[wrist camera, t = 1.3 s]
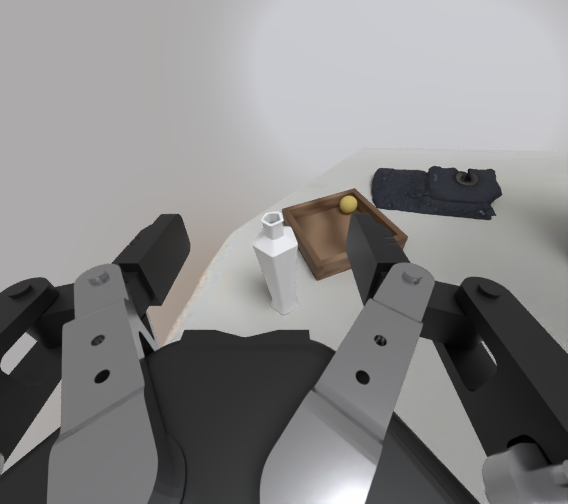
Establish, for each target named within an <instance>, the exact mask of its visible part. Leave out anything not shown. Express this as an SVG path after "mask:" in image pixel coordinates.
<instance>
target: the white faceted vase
mask: <svg viewBox="0 0 568 504" xmlns="http://www.w3.org/2000/svg"><path fill="white" fill-rule="evenodd" d="M283 221H284V219H283V216H282V214H281V212H267V213H265V215H264V216H263V217H262V219H261V222H262V223H263V227H264V228H263V229H262V231H261V232H260V234H259V235H258V236H257V238H256V239H255V241H254V242H253V247H254V250H255V253H256V256H257V258H258V261H259V264H260V267H261V269H262V272H263V275H264V278H265V280H266V283H267V286H268V289H269V291H270V294H271V297H272V302H271V307H273V308H274V309H275V310H277V311H278V312H279V313H281V314H282V315H286V314H288V313H289V312H291V311H293V310H294V309H296V308H298V306H299V305H298V302H297V299H296V274H297V251H298V243H297V240H296V238H295V235H294V233H293V230H292V228H291V227H289V226H283Z"/></svg>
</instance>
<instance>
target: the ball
mask: <svg viewBox="0 0 568 504" xmlns="http://www.w3.org/2000/svg"><path fill="white" fill-rule="evenodd" d="M356 208H357V200H356V199H355V198H354V197H353V196H345V197H344V198H342V199H341V201H340V209H341V210H342V211H343V212H344V213H352V212H353V211H355V210H356Z"/></svg>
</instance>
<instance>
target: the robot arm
mask: <svg viewBox="0 0 568 504" xmlns="http://www.w3.org/2000/svg"><path fill="white" fill-rule="evenodd" d="M189 252H190V241H189V238H188V235H187V232H186V229H185V225H184V223H183V219H182V217H181V216H180V215H179V214H161V215H160V216H159V217H158V218H157V219H156V221H155V222H154V223H153V224H152V225H149V226H148V227H146V228H145V229H143V230H141V231H140V232H139V234H138V235H137V236H136V237H135V239H133V240H132V241H131V242H130V245H128V246H127V247H126V248H125V249H124V250H123V251H122V252H121V253H120V254H119V256H118V257H117V258H116V259H115V260H114V261H113V262H112V263H111V264H104V265H100V266H96V267H94V268H91V269H89V270H87V271H85V272H84V273H83V274H81V275H80V276H79V277H78V278H77V279H76V281H75V283H72V284H68V285H63V286H58V287H54V286H53V285H52V284H51V283H50V282H49V281H48V280H47V279H46V278H41V277H38V278H31V279H27V280H24V281H21V282H19V283H16V284H14V285H12V286H10V287H8V288H7V289H5V290H4V291H2V292H1V293H0V363H1V359H2V357H3V356H4V354H5V353H6V352H7V351H8V350H9V349H10V348H11V347H12V346H13V345H14V344H15V342H16V341H17V340H18V339H19V338H20V337H21V336H22V335H23V334H24V333H25V332H27V333H28V334H29V335H30V336H32V337H33V338H34V339H35V340H36V341H37V342H36V344H35V345H34V346H33V347H32V348H31V350H30V351H29V352H28V353H27V354H26V355H25V356H24V358H23V359H22V360H21V361H20V363H19V364H18V365H17V366H16V367H15V368H14V370H13V371H12V372H11V373H10V374H9V375H7V374H6V373H4V372H3V371H2V370H1V368H0V504H480V503H479V502H478V501H477V499H476V498H475V497H474V496H473V495H472V494H471V493H470V492H469V491H468V490H467V489H466V488H465V487H464V486H463V484H462V483H461V482H460V481H459V480H458V479H457V478H456V477H455V476H454V475H453V474H452V473H451V472H450V471H449V470H448V468H447V467H446V466H445V465H444V464H443V463H442V462H441V461H440V460H439V459H438V458H437V457H436V456H435V455H434V454H433V453H432V451H431V450H430V449H429V448H428V447H427V446H426V445H425V444H424V443H423V442H422V441H421V440H420V439H419V438H418V437H417V435H416V434H415V433H414V432H413V431H412V430H411V429H410V428H409V427H408V426H407V425H406V424H405V423H404V422H403V421H402V419H401V418H400V417H399V416H398V415H397V414H396V413H395V412H394V411H393V410H394V407H395V404H396V402H397V399H398V396H399V393H400V390H401V387H402V384H403V381H404V379H405V376H406V373H407V370H408V367H409V364H410V361H411V358H412V356H413V353H414V350H415V347H416V344H417V341H418V338H419V337H423V338H426V339H430V340H432V341H433V343H434V345H435V347H436V349H437V351H438V353H439V356H440V358H441V360H442V362H443V364H444V366H445V368H446V370H447V373H448V375H449V377H450V379H451V381H452V383H453V385H454V387H455V390H456V392H457V394H458V396H459V398H460V400H461V402H462V404H463V406H464V409H465V411H466V413H467V415H468V417H469V419H470V421H471V423H472V426H473V428H474V430H475V432H476V434H477V436H478V438H479V440H480V442H481V445H482V447H483V449H484V451H485V453H486V455H487V457H488V458H487V459H486V460H485V461H484V464H483V468H482V476H483V481H484V485H485V494H486V497H487V499H488V501H489V503H490V504H568V354H567V353H566V352H565V351H564V350H563V348H562V347H561V346H560V345H559V344H558V343H557V342H556V341H555V340H554V339H553V338H552V337H551V335H550V334H549V333H548V332H547V331H546V330H545V329H544V328H543V327H542V326H541V325H540V324H539V323H538V321H537V320H536V319H535V318H534V317H533V316H532V315H531V314H530V313H529V312H528V311H527V310H526V308H525V307H524V306H523V305H522V304H521V303H520V302H519V301H518V300H517V299H516V298H515V297H514V296H513V294H512V293H511V292H510V291H509V290H507V289H506V288H505V287H503V286H502V285H500V284H498V283H496V282H494V281H492V280H489V279H485V278H481V277H468V278H466V279H465V280H464V281H463V282H462V284H461V285H460V286H456V285H451V284H447V283H442V282H438V281H435V280H434V277H433V276H432V275H431V273H430V272H428V271H427V270H426V269H424V268H423V267H421V266H418V265H416V264H412V263H410V261H409V260H408V258H407V257H406V255H405V253H404V252H403V250H402V249H401V247H400V246H399V244H397V241H396V239H395V238H394V236H393V235H392V233H391V232H390V230H389V229H388V228H386V227H385V226H383V225H382V224H381V223H375V221H374V220H373V218H372V216H371V214H370V213H352V215H351V218H350V223H349V228H348V233H347V239H346V253H347V256H348V259H349V262H350V265H351V268H352V271H353V274H354V278H355V281H356V284H357V287H358V290H359V293H360V296H361V299H362V302H363V305H364V308H363V309H362V311H361V313H360V314H359V316H358V318H357V319H356V321H355V322H354V324H353V326H352V327H351V329H350V330H349V332H348V334H347V335H346V337H345V339H344V340H343V342H342V343H341V345H340V347H339V348H338V350H337V351H334V350H333V349H331V348H330V347H328V346H326V345H324V344H322V343H319V342H316V341H313V340H310V336H309V330H276V331H272V332H267V333H263V334H259V335H255V336H250V337H240V336H237V335H233V334H229V333H225V332H221V331H217V330H184V332H183V335H182V337H181V340H179V341H176V342H173V343H170V344H168V345H166V346H163V347H161V348H160V346H159V343H158V341H157V338H156V335H155V332H154V329H153V326H152V323H151V320H150V317H149V315H148V313H147V311H146V310H147V309H148V307H149V306H161V305H162V304H163V302H164V300H165V298H166V296H167V294H168V292H169V290H170V289H171V287H172V285H173V283H174V281H175V279H176V277H177V275H178V273H179V272H180V270H181V268H182V266H183V264H184V262H185V260H186V259H187V257H188V255H189ZM482 341H484V342H485V344H486V345H487V347H488V348H489V350H490V351H491V353H492V354H493V356H494V358H495V360H496V364H497V366H496V365H495V363H494V362H493V360H492V358H491V357H490V355H489V354H488V352H487V351H486V349H485V348H484V346H483V345H482V343H481V342H482ZM61 379H62V387H61V388H62V390H61V427H59V428H58V429H57V430H56V431H55V432H53V433H52V434H51V435H50V436H48V437H47V438H46V439H45V440H43V441H42V442H41V443H40V444H38V445H37V446H36V447H35V448H34V449H32V450H31V451H30V452H29V453H27V454H26V455H25V456H24V457H22V458H21V459H20V460H19V461H18V462H16V463H15V464H14V465H13V466H11V467H10V468H9V469H8V470H7V471H5V472H4V473H3V474H2V475H1V473H2V471H3V467H4V464H5V462H6V461H7V459H8V458H9V456H10V455H11V453H12V452H13V450H14V449H15V447H16V446H17V444H18V443H19V441H20V440H21V438H22V437H23V435H24V434H25V432H26V431H27V429H28V428H29V426H30V425H31V423H32V422H33V420H34V419H35V417H36V416H37V414H38V413H39V411H40V410H41V408H42V407H43V406H44V404H45V402H46V401H47V399H48V398H49V397H50V395H51V394H52V392H53V391H54V389H55V388H56V386H57V385H58V383H59V382H60V380H61Z"/></svg>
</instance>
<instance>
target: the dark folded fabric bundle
mask: <svg viewBox="0 0 568 504" xmlns="http://www.w3.org/2000/svg"><path fill="white" fill-rule="evenodd" d="M372 193H373V201H374V203H375V204H376V207H377V208H380V209H386V210H399V211H405V212H414V213H421V214H430V215H442V216H453V217H464V218H473V219H483V220H491V219H492V218H491V216H496V214H495V212H494V210H493V208H492V207H491V205H490V204H491V202H493V201H494V200H496V199H497V198H499V197H500V196H501V195H502V192H501V188H500V186H499V184H498V183H497V181H496V175H495V171H494V170H492V169H487V170H477V169H468V173H466V172H463V171H458V170H457V169H456V168H441V167H437V166H433V167H431V168H429V171H428V173H427V172H425V171H420V170H395V169H389V168H379V169H378V170H377V171H376V172H375V174H374V179H373V188H372Z"/></svg>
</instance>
